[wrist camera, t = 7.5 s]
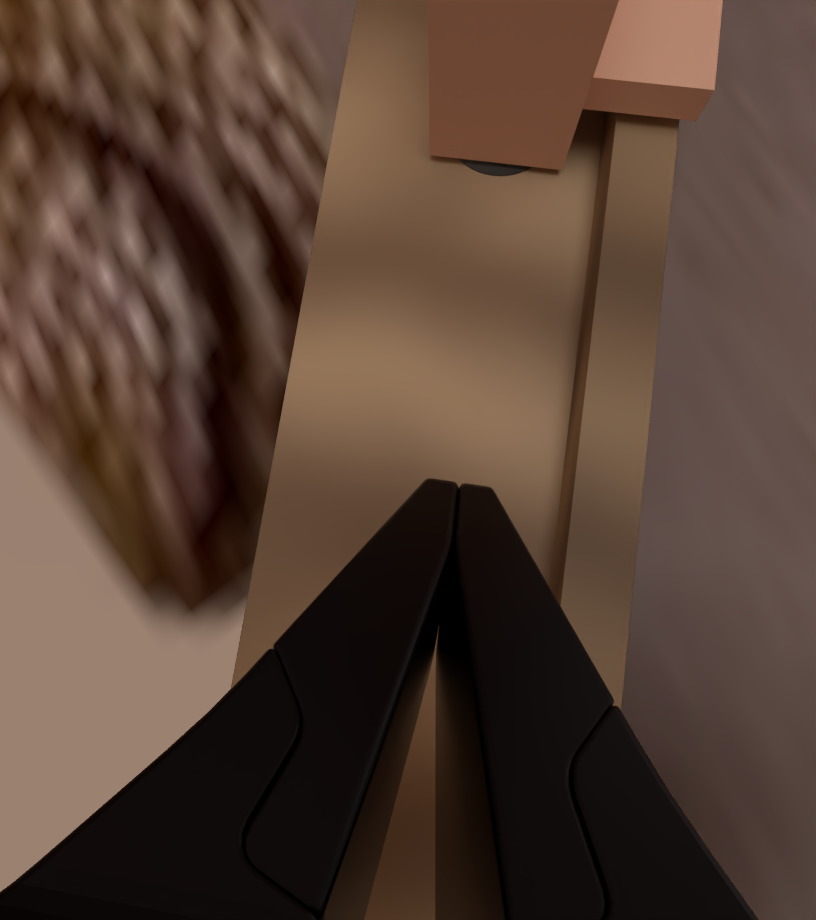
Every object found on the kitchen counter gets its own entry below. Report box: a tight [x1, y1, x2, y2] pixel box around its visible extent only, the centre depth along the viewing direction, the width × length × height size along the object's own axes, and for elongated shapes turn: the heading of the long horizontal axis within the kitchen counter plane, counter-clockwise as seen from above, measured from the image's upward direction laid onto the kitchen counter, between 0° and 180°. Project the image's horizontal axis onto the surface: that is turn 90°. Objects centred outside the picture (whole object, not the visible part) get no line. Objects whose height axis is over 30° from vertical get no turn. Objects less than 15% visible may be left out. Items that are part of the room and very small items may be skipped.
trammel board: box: [231, 0, 679, 920], centre depth 12 cm, size 32×9×11 cm, turn 171°
